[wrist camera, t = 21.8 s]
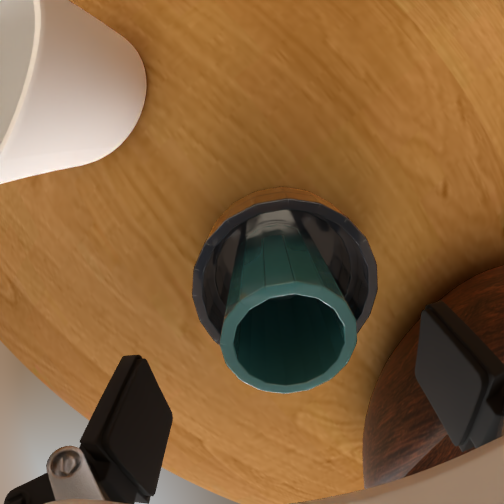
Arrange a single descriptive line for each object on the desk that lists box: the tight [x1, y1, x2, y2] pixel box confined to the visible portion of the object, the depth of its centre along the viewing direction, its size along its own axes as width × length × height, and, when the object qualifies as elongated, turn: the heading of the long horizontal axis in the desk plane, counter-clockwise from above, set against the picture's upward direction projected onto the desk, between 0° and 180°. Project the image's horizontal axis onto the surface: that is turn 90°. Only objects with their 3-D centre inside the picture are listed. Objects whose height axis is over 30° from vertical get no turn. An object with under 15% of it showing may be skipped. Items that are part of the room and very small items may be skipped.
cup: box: [220, 223, 357, 394], centre depth 15 cm, size 5×5×8 cm
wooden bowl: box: [363, 265, 504, 489], centre depth 18 cm, size 25×25×10 cm
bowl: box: [192, 187, 378, 345], centre depth 17 cm, size 9×9×4 cm
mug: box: [0, 0, 147, 184], centre depth 11 cm, size 9×12×11 cm
